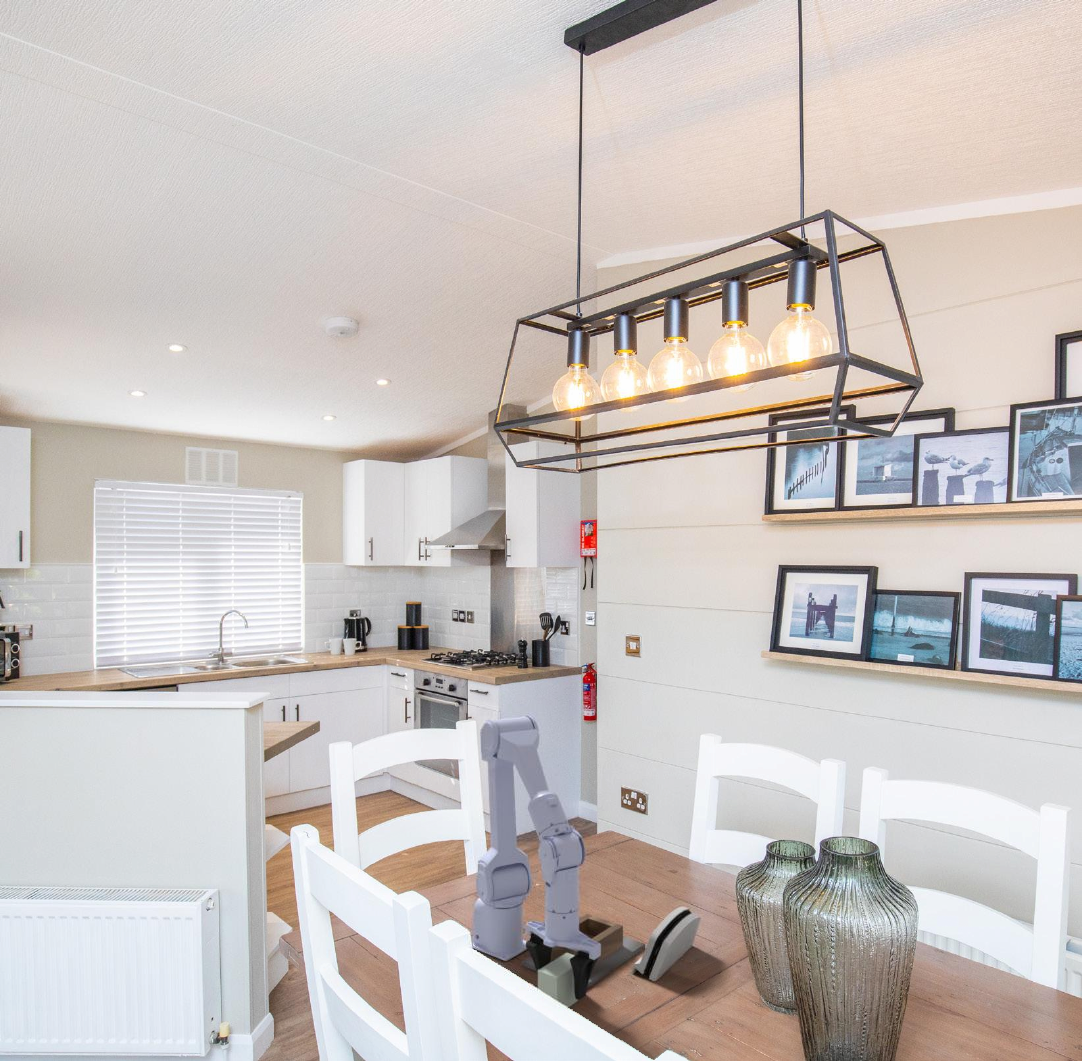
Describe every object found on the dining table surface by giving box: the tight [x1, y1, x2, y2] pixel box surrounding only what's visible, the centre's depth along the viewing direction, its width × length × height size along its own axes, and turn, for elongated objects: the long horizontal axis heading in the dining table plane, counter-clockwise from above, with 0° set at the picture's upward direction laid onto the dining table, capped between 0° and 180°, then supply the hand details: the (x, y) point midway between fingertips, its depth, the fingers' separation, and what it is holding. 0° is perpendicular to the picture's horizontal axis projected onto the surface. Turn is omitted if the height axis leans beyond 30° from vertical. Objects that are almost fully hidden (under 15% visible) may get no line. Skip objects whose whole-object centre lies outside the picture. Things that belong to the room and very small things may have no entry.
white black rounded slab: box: [630, 906, 701, 982], centre depth 148 cm, size 17×5×10 cm, turn 146°
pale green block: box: [537, 953, 579, 1008], centre depth 134 cm, size 4×8×6 cm, turn 141°
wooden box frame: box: [521, 913, 646, 989], centre depth 150 cm, size 14×20×5 cm
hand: (562, 989), depth 134 cm, fingers open, 7 cm apart
